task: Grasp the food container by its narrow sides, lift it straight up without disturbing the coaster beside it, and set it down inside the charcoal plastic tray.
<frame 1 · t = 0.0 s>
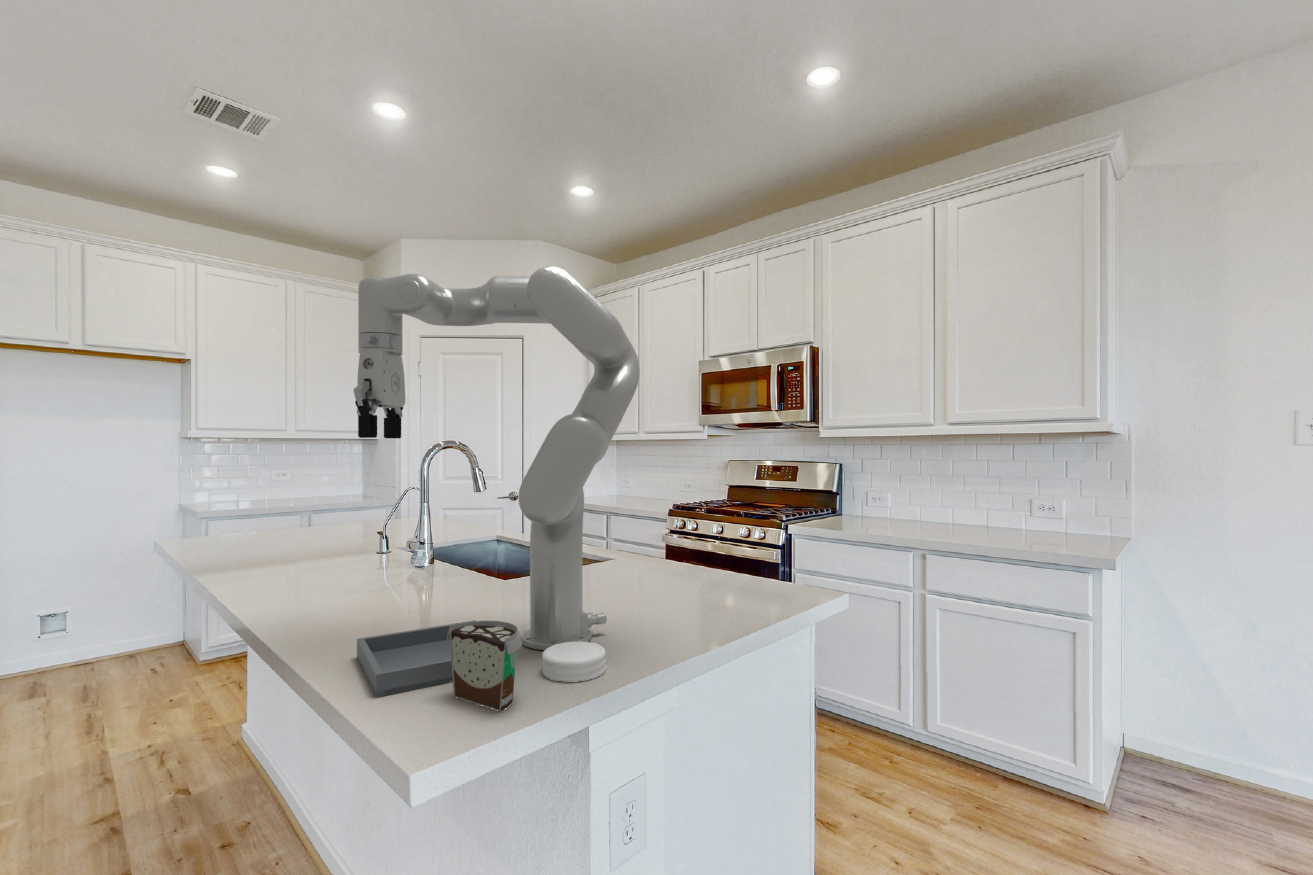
hand: (380, 438, 116), 37 cm above the countertop, tool pointing down, fingers open, 9 cm apart
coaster: (574, 673, 99), on the countertop
food container: (493, 698, 89), on the countertop
tray: (432, 663, 103), on the countertop
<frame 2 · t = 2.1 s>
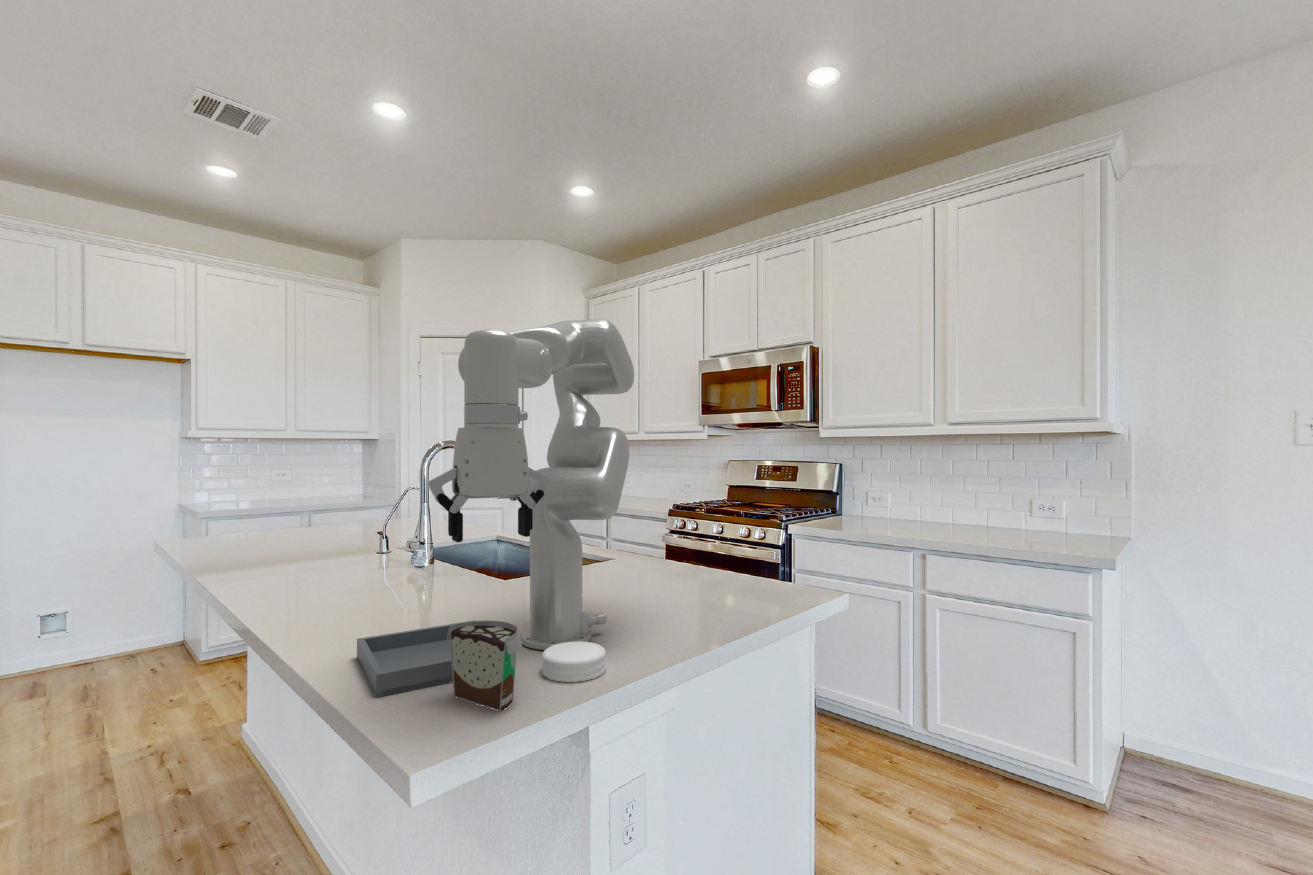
hand: (491, 538, 89), 22 cm above the countertop, tool pointing down, fingers open, 9 cm apart
nothing on the countertop moved.
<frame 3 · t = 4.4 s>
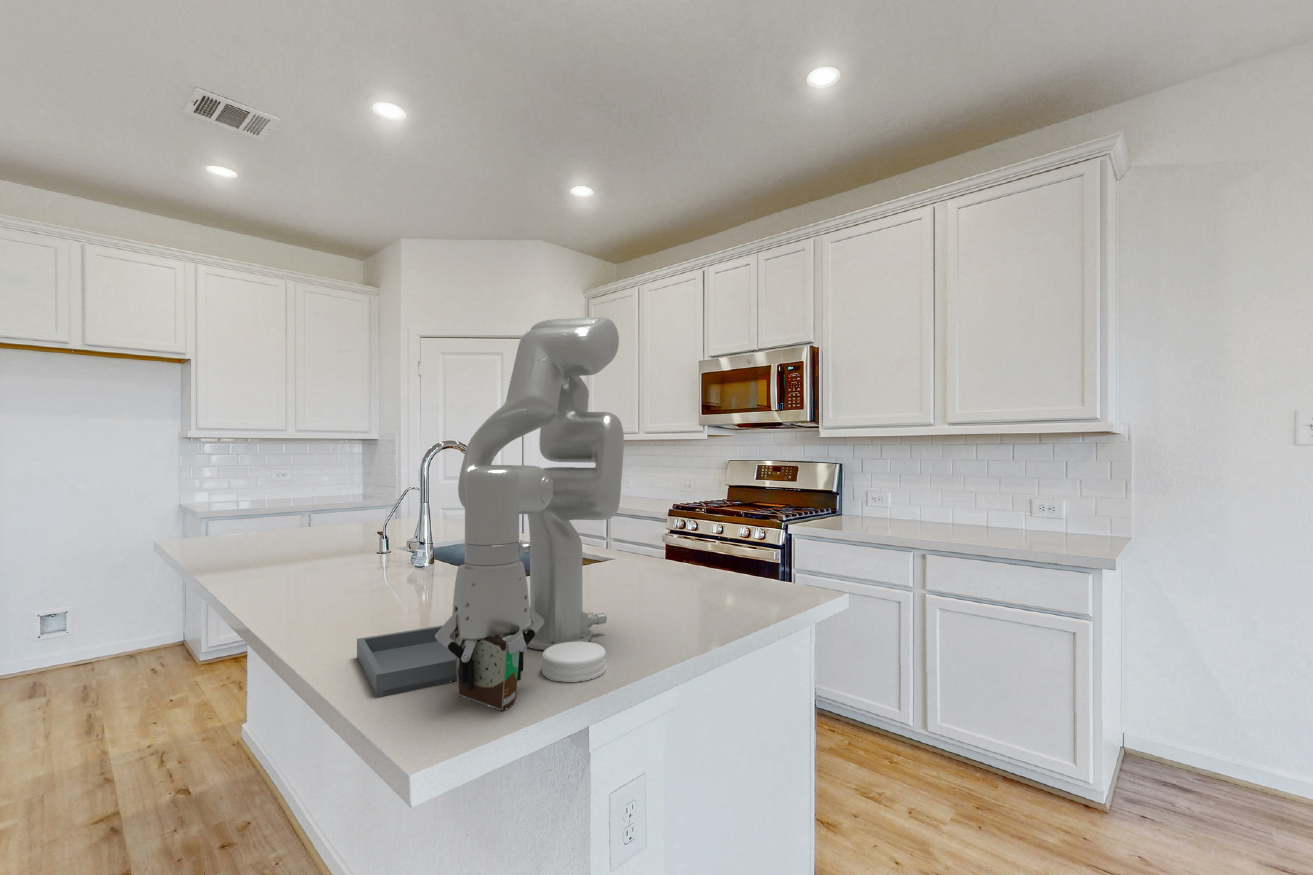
hand: (491, 681, 88), 2 cm above the countertop, tool pointing down, fingers closed on food container, 6 cm apart
food container: (497, 697, 89), on the countertop, touching gripper
everything else where it was.
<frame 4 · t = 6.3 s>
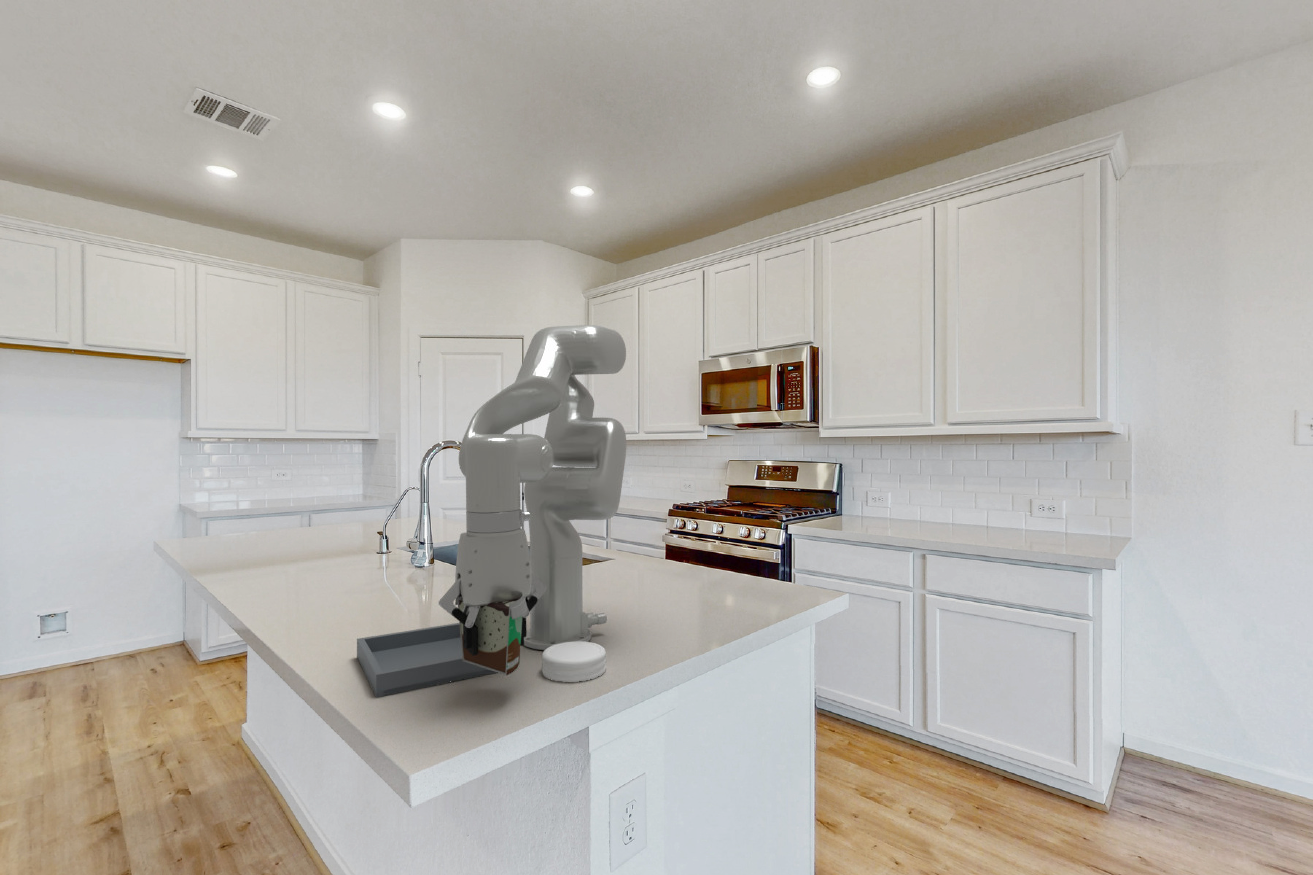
hand: (495, 646, 90), 7 cm above the countertop, tool pointing down, fingers closed on food container, 6 cm apart
food container: (500, 662, 90), point 4 cm above the countertop, touching gripper
everything else where it was.
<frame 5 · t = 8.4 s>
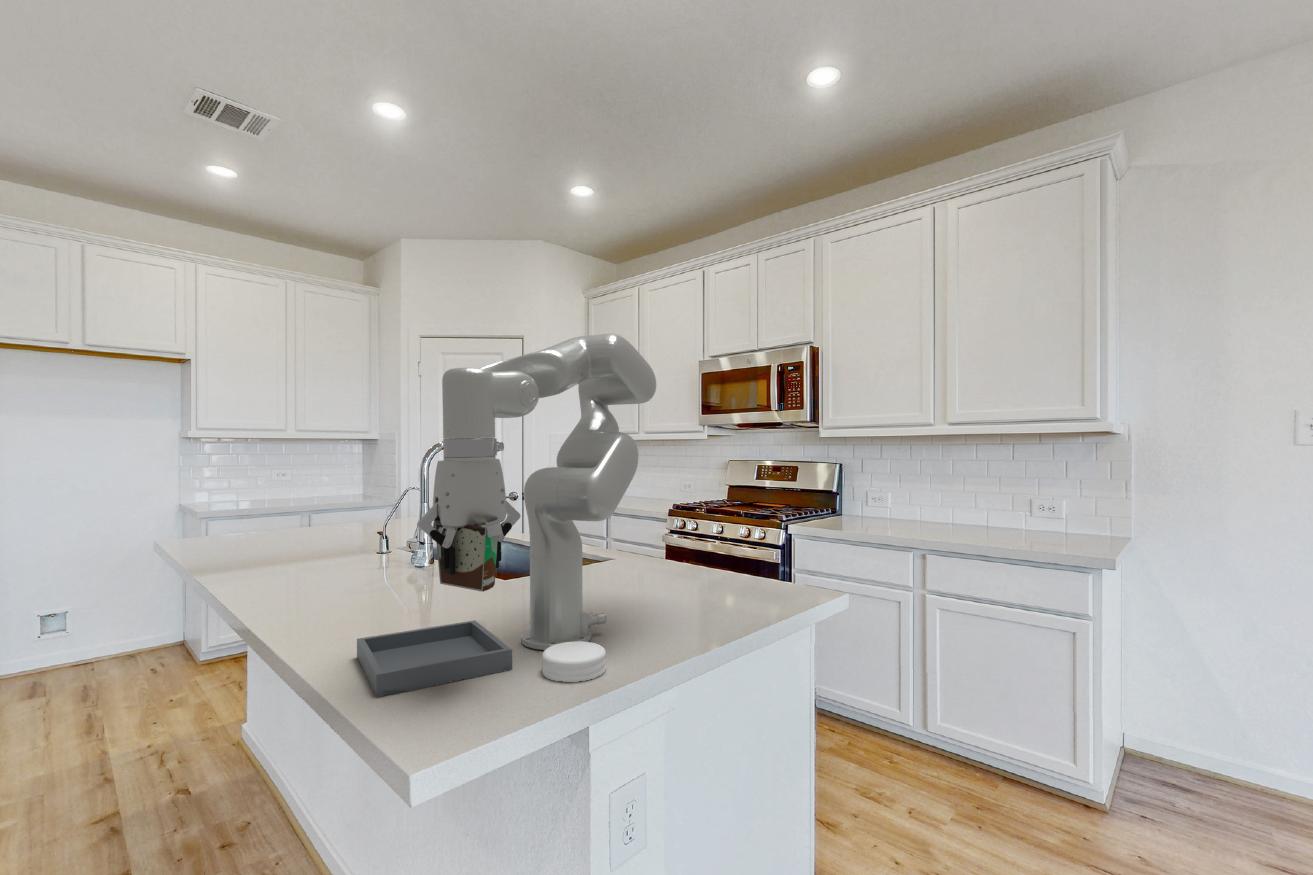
hand: (471, 568, 94), 17 cm above the countertop, tool pointing down, fingers closed on food container, 6 cm apart
food container: (477, 584, 95), point 15 cm above the countertop, touching gripper
everything else where it was.
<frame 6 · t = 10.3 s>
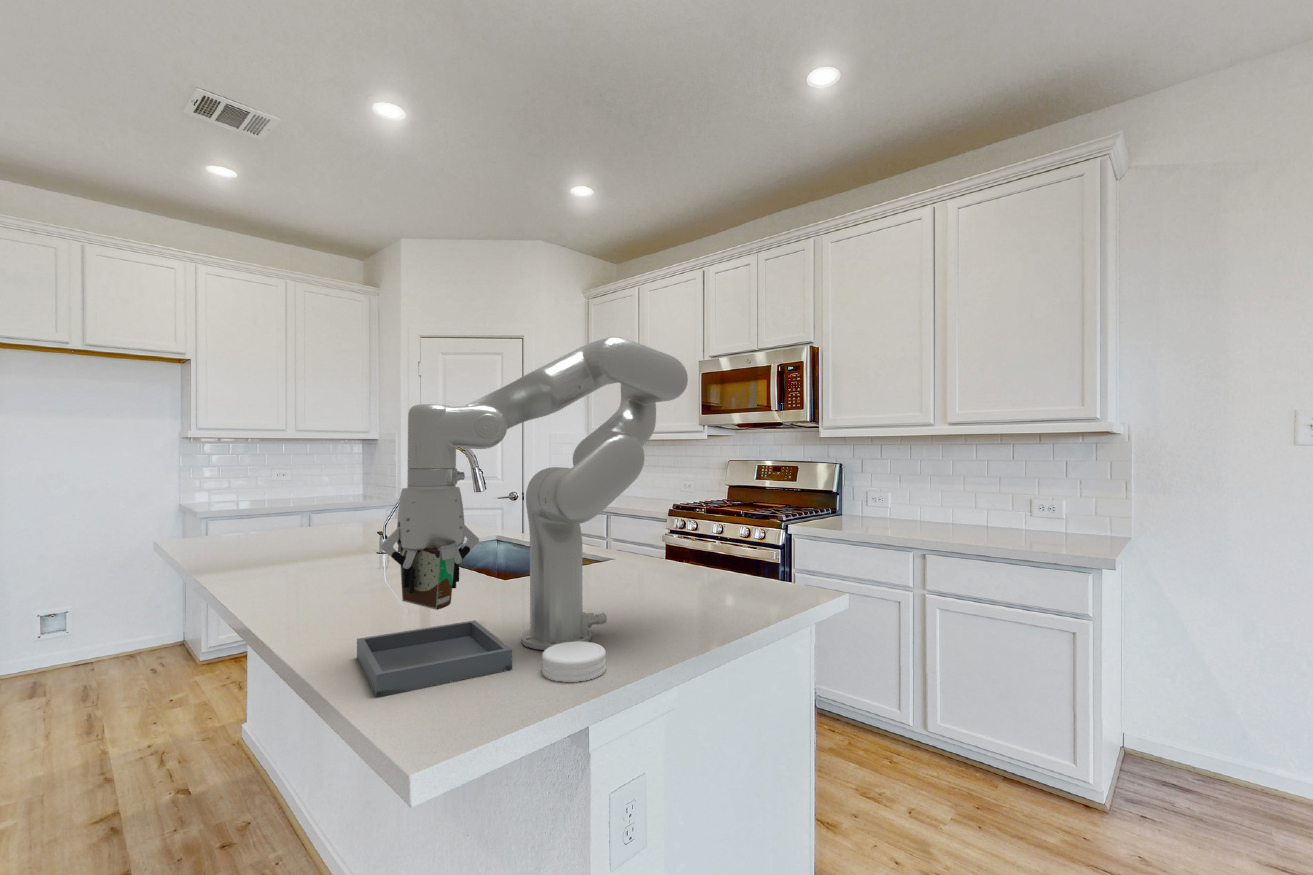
hand: (431, 588, 103), 12 cm above the countertop, tool pointing down, fingers closed on food container, 6 cm apart
food container: (435, 602, 103), point 10 cm above the countertop, touching gripper
everything else where it was.
when the fingers open (4 cm above the countertop, at t = 12.1 s): food container drops 1 cm, resting on tray.
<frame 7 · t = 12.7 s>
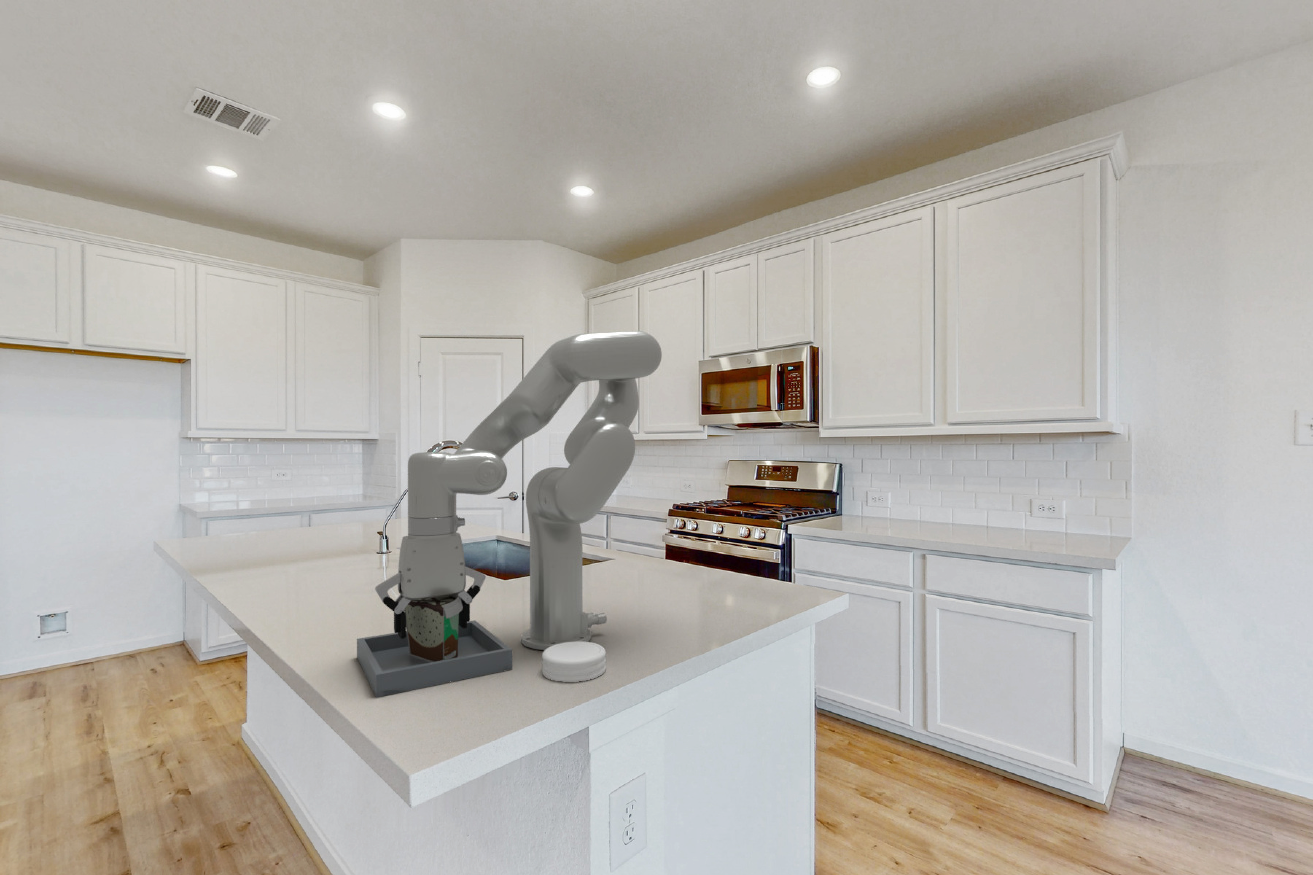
hand: (432, 631, 103), 5 cm above the countertop, tool pointing down, fingers open, 9 cm apart
food container: (442, 655, 104), point 1 cm above the countertop, touching gripper, tray
everything else where it was.
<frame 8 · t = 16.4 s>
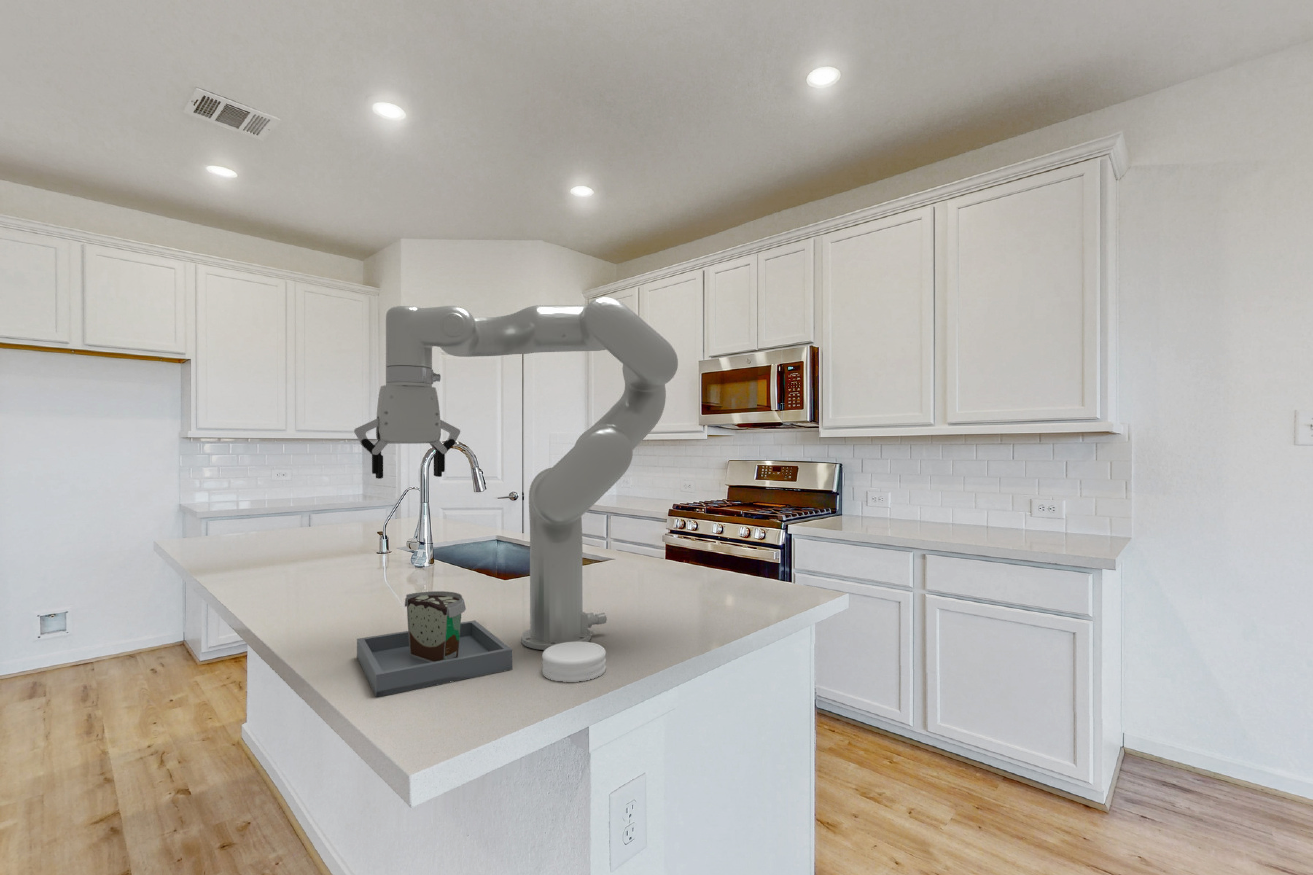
hand: (409, 477, 109), 30 cm above the countertop, tool pointing down, fingers open, 9 cm apart
food container: (442, 657, 104), point 1 cm above the countertop, touching tray
everything else where it was.
at the end: food container inside the target area on the tray (1.8 cm from its centre), point 0.6 cm above the tray's base; food container tilted 0°; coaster moved 0.5 cm from its start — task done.
